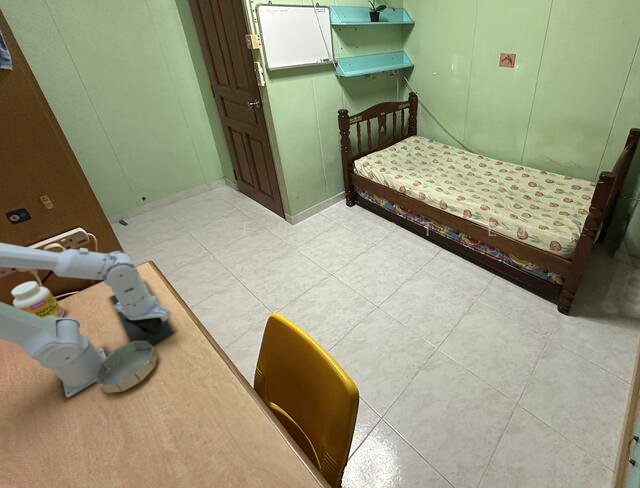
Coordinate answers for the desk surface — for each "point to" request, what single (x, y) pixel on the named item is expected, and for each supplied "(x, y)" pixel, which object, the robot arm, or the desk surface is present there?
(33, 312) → the supplement bottle
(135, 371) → the frying pan
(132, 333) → the mat
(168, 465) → the desk surface
